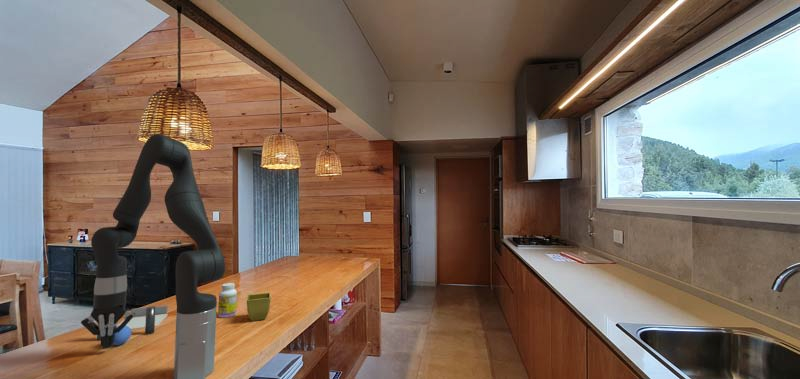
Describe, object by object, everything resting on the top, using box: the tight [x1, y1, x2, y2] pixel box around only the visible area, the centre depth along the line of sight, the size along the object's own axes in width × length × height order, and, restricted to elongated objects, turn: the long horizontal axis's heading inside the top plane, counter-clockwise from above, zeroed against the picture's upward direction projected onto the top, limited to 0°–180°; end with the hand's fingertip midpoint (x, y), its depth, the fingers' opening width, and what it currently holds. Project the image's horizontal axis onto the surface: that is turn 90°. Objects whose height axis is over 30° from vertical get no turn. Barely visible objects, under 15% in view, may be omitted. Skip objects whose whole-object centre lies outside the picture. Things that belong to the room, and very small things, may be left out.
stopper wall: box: [130, 305, 169, 318], centre depth 130 cm, size 2×12×3 cm, turn 113°
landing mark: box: [117, 313, 169, 330], centre depth 121 cm, size 14×14×1 cm
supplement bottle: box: [217, 282, 238, 318], centre depth 130 cm, size 7×7×13 cm
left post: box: [96, 323, 101, 342], centre depth 106 cm, size 3×3×9 cm
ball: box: [111, 326, 132, 346], centre depth 102 cm, size 6×6×6 cm
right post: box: [144, 305, 156, 336], centre depth 111 cm, size 3×3×9 cm
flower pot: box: [246, 292, 272, 322], centre depth 126 cm, size 9×9×9 cm
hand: (107, 347), depth 96 cm, fingers closed
